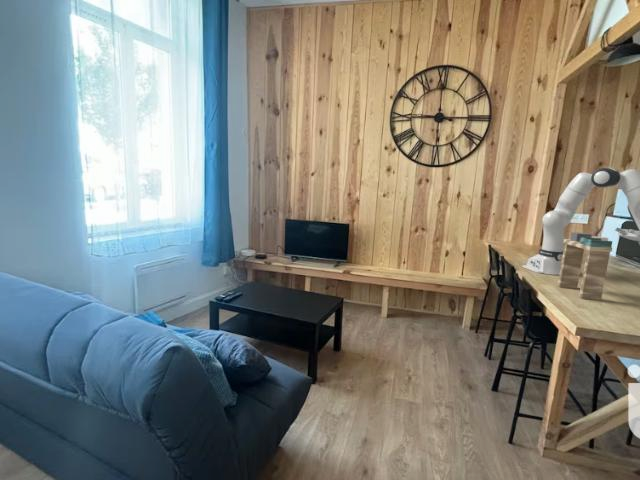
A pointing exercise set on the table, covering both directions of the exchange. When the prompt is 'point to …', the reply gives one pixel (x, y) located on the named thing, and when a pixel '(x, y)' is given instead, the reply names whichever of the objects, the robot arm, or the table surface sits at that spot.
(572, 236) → the beige and grey block
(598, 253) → the brown and teal frame
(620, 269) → the table surface
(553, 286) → the table surface
